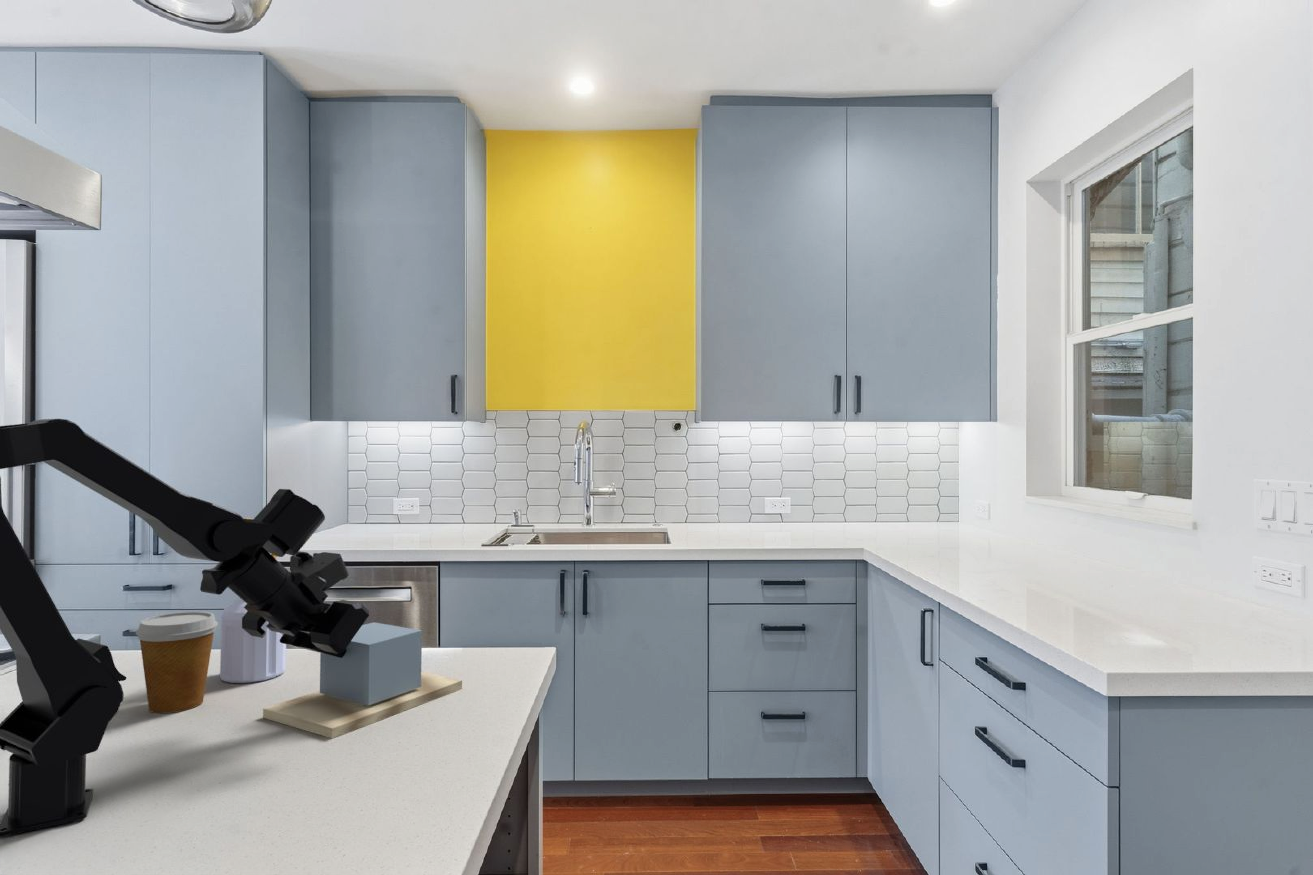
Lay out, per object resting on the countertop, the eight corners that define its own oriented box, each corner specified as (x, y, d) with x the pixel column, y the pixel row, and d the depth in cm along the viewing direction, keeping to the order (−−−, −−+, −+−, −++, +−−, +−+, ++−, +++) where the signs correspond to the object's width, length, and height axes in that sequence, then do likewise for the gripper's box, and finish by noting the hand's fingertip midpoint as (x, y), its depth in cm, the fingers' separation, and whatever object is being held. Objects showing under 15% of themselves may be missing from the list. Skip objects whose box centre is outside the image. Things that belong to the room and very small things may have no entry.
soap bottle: (225, 670, 117) (228, 516, 118) (289, 664, 120) (291, 515, 121) (213, 686, 109) (217, 521, 109) (282, 680, 112) (284, 520, 113)
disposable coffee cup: (222, 691, 107) (223, 608, 107) (208, 712, 98) (210, 622, 98) (145, 698, 104) (147, 613, 104) (124, 721, 95) (126, 628, 95)
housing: (368, 705, 97) (369, 644, 97) (319, 692, 101) (320, 635, 102) (421, 686, 104) (421, 630, 105) (373, 675, 109) (374, 622, 110)
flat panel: (332, 738, 90) (333, 695, 90) (263, 717, 96) (263, 677, 96) (462, 688, 109) (462, 653, 109) (396, 674, 116) (396, 641, 116)
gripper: (357, 538, 90) (424, 611, 99) (265, 530, 99) (335, 597, 109) (297, 615, 83) (376, 686, 92) (204, 598, 92) (284, 664, 102)
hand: (342, 654), depth 99 cm, fingers closed, pressing on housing
